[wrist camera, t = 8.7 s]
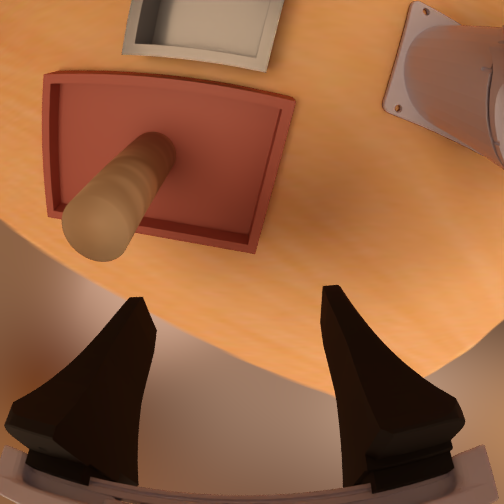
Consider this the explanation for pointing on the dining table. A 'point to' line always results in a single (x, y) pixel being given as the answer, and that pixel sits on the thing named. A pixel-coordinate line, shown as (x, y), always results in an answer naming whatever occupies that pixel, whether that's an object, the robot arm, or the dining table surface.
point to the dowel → (118, 198)
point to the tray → (184, 140)
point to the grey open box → (204, 30)
